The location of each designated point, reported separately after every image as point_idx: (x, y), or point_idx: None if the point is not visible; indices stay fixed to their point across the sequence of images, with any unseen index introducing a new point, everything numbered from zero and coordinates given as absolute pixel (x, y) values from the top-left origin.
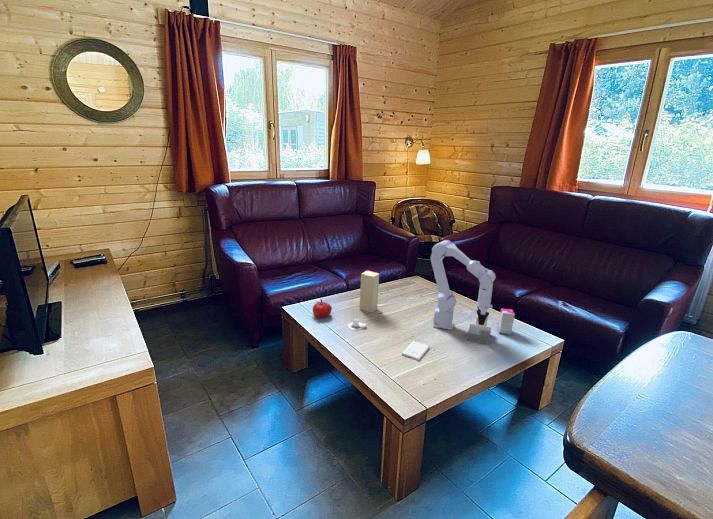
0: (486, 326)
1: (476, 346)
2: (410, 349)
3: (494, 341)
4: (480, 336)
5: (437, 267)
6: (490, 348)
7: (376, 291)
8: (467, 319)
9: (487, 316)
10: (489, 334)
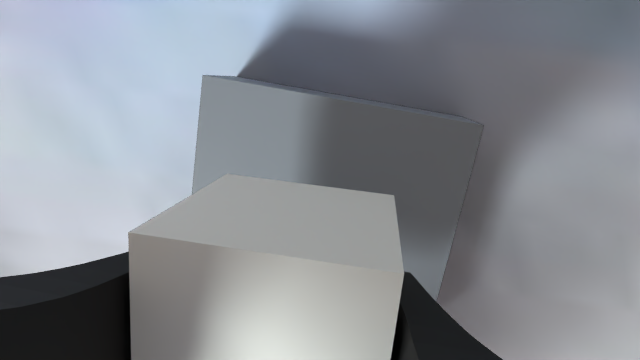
0: (394, 204)
1: (539, 254)
2: None
3: (389, 47)
4: (451, 235)
5: None
6: (563, 113)
7: None
8: (3, 265)
9: (277, 259)
10: (406, 124)
